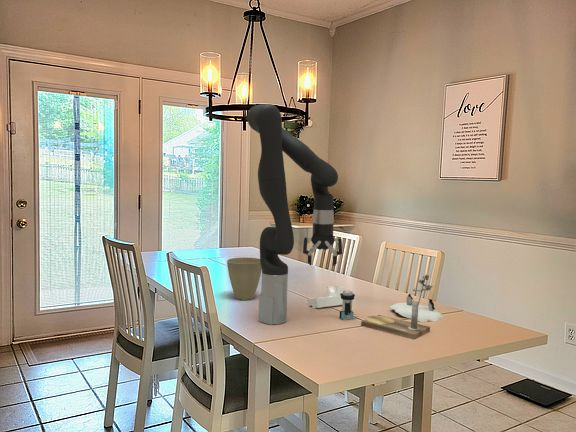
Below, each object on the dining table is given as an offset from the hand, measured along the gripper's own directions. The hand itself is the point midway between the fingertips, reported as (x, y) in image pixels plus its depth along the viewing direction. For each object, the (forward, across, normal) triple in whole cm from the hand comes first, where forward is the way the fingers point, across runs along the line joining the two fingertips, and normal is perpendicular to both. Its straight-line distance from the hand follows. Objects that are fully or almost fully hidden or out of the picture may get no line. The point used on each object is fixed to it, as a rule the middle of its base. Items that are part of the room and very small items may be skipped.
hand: (322, 265), depth 184 cm
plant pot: (+20, -31, +20) cm, 42 cm away
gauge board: (+19, +25, -12) cm, 34 cm away
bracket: (+20, +2, +15) cm, 25 cm away
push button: (+19, +10, -3) cm, 22 cm away
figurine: (+20, +37, +7) cm, 42 cm away
